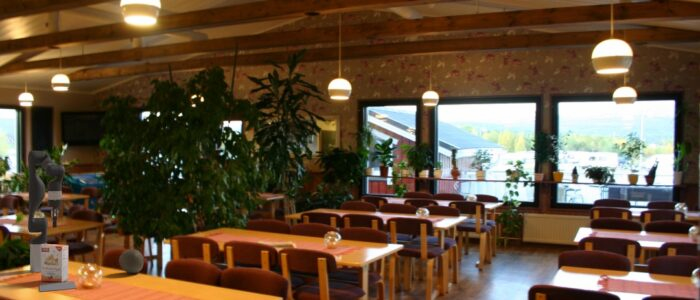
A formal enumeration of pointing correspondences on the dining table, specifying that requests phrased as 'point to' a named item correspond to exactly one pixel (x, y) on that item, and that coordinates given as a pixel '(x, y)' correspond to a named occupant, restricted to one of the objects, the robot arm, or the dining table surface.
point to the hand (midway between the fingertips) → (54, 227)
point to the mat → (57, 286)
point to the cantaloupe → (131, 261)
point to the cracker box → (54, 263)
